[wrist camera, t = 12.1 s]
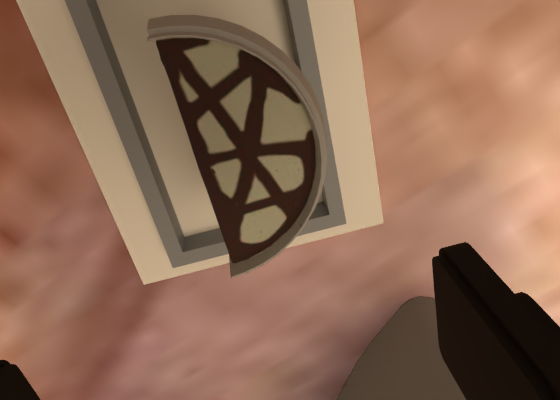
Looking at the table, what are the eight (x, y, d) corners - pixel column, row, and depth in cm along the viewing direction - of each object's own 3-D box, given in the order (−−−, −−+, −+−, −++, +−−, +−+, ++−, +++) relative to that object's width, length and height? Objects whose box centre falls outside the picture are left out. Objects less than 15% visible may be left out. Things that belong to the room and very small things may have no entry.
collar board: (1, -52, 25) (-27, -55, 22) (330, -133, 25) (344, -147, 22) (146, 275, 35) (139, 302, 32) (378, 215, 35) (392, 237, 32)
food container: (316, 173, 31) (356, 254, 22) (229, 197, 31) (234, 287, 22) (274, -23, 26) (305, -20, 17) (167, 5, 26) (141, 23, 17)
